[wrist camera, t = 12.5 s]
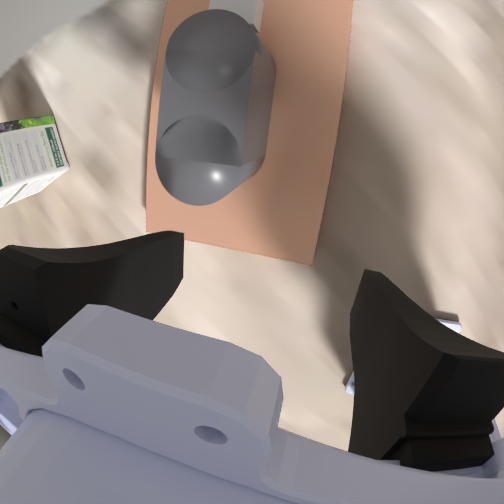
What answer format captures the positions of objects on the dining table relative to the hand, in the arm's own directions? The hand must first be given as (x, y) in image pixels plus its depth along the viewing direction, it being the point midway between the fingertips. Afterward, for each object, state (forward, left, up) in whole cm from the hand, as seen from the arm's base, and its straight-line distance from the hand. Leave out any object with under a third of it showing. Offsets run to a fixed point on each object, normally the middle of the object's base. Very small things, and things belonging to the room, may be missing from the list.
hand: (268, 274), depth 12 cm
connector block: (+6, +4, -8) cm, 11 cm away
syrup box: (+2, +23, -10) cm, 25 cm away
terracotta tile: (+6, +4, -9) cm, 12 cm away
